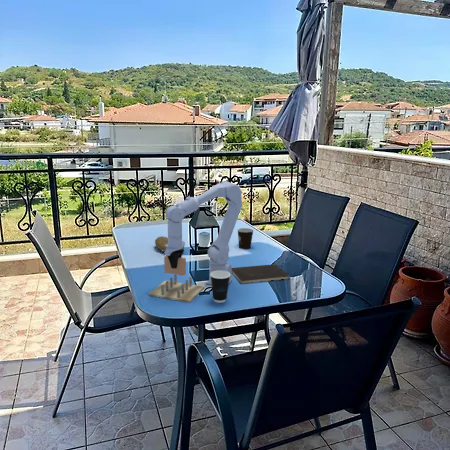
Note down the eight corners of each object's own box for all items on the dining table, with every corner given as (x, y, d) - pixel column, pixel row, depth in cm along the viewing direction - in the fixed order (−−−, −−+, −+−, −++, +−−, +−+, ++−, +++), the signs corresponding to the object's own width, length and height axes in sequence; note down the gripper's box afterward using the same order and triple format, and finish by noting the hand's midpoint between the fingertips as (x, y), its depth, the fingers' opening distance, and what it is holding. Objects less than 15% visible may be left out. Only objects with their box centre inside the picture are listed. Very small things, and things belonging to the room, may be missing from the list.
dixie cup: (219, 294, 168) (219, 268, 165) (233, 300, 163) (234, 274, 160) (205, 299, 162) (205, 273, 159) (220, 306, 157) (220, 279, 154)
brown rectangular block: (185, 274, 170) (185, 258, 169) (184, 275, 169) (184, 259, 167) (166, 271, 173) (166, 255, 171) (164, 272, 172) (164, 256, 170)
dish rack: (204, 288, 173) (204, 277, 172) (189, 302, 159) (189, 291, 158) (165, 282, 179) (165, 271, 177) (148, 295, 165) (148, 284, 164)
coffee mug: (252, 250, 225) (253, 232, 222) (237, 249, 225) (237, 232, 223) (251, 243, 236) (252, 226, 234) (236, 243, 236) (237, 226, 234)
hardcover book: (289, 280, 185) (289, 275, 185) (241, 285, 179) (241, 280, 178) (275, 268, 200) (275, 263, 199) (230, 272, 194) (230, 267, 193)
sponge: (152, 249, 227) (160, 252, 208) (154, 235, 227) (162, 237, 209) (175, 251, 232) (185, 255, 213) (177, 237, 232) (187, 240, 213)
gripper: (174, 230, 175) (174, 260, 178) (157, 239, 161) (158, 271, 165) (189, 232, 173) (189, 262, 176) (173, 241, 159) (174, 274, 163)
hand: (175, 267), depth 170 cm, fingers closed on brown rectangular block, 2 cm apart
